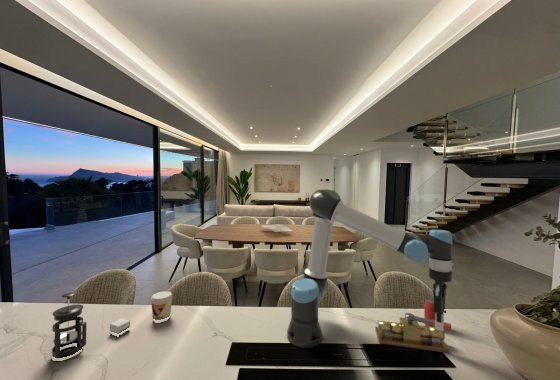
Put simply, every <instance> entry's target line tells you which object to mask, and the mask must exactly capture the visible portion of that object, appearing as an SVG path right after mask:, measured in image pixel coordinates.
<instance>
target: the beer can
mask: <svg viewBox="0 0 560 380" xmlns="http://www.w3.org/2000/svg"><path fill="white" fill-rule="evenodd" d="M423 308H424V312H423V314H424V317H423V318H426V319H430V320H435V312H433V310H434V298H430V297H429V298H426V299H425V301H424V307H423ZM424 326H429V327H434V326H433V325H429V324H425V323H424Z"/></svg>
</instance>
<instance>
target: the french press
mask: <svg viewBox="0 0 560 380" xmlns="http://www.w3.org/2000/svg"><path fill="white" fill-rule="evenodd" d="M76 294H77V293H76V292H68V293H64V294H62V295H61V298H66V300H67V305H66V306H63V307H59V308H58V309H56V310H54V311H53V312H52V316H53V320H54V321H57V322H55V323H54V324H52V332H53V333H54V339H53V341H52V342H53V344H54V346H53V347H52V349H51V357H52V356H53V357H55V358H63V357H67V356H70V355H73V354H75V353H76V352H78V351H79V350H81V349H82V347H85V346H86V345H87V322H86V321H84V318H83V317H82V316H80V315H82V313H83V309H84V305H83V304H71V305H70V299H71V297H73V296H75V295H76ZM71 321H75V322H74V325H71V326H70V322H71ZM66 322H67V327H64V328H60V325H61V324H64V323H66ZM61 333H62V334H61ZM72 343H77V347H72V348H70V349H69V350H66V351H65V350H64V351H61V352H60V347H63V346H66V345H69V344H72Z"/></svg>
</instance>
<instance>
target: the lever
mask: <svg viewBox="0 0 560 380" xmlns="http://www.w3.org/2000/svg"><path fill="white" fill-rule="evenodd" d="M404 318H405V319H406V320H408V321H417V322H418V323H422V324H424V325H425V324H429V325H433V326H434V327H435V320H430V319H426V318H424V317H421V316H417V315H415V314H413V313H409V312H407V313H406V312H405V314H404ZM445 330H446V331H448V332H449V331H450V332H452V323H448V322H445V321H444V331H445Z"/></svg>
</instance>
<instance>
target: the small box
mask: <svg viewBox="0 0 560 380" xmlns="http://www.w3.org/2000/svg"><path fill="white" fill-rule="evenodd" d="M129 327H130V328H131V320H129V319H128V318H124V317H121V318H119V319H117V320H115V321H113V322H111V323H109V332H110V331H111V332H114V333H117V334H119V333H121V332H122V331H124V330H126V329H127V328H129Z"/></svg>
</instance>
